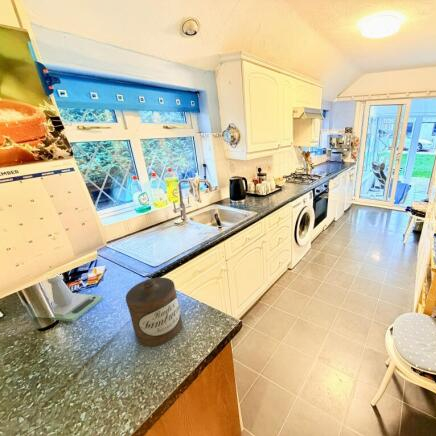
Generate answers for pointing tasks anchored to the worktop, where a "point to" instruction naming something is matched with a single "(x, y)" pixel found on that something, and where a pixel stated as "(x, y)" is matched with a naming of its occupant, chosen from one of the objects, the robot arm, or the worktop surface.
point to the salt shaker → (60, 291)
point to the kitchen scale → (75, 307)
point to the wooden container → (154, 311)
